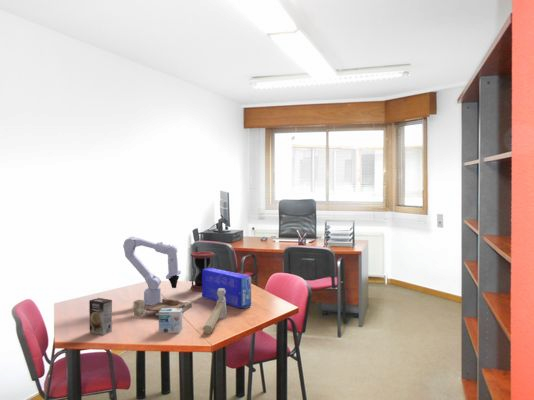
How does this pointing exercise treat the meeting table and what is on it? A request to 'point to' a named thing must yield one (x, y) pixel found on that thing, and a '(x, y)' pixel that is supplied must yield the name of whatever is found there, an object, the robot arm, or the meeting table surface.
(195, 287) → the hourglass
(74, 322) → the meeting table surface
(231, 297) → the toner cartridge box
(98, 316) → the coffee box
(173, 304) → the lid
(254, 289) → the meeting table surface
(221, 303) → the hammer
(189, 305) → the cream rectangular tray
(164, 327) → the light bulb box
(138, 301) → the cream rectangular block
